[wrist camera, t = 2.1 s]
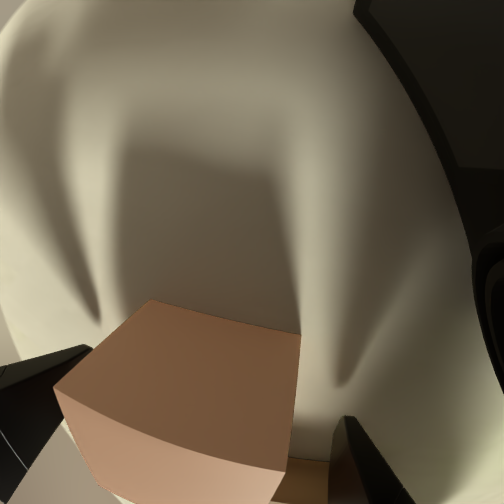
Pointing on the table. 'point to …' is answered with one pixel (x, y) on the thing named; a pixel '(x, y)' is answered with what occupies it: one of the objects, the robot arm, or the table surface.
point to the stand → (303, 483)
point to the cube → (185, 408)
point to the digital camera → (458, 121)
